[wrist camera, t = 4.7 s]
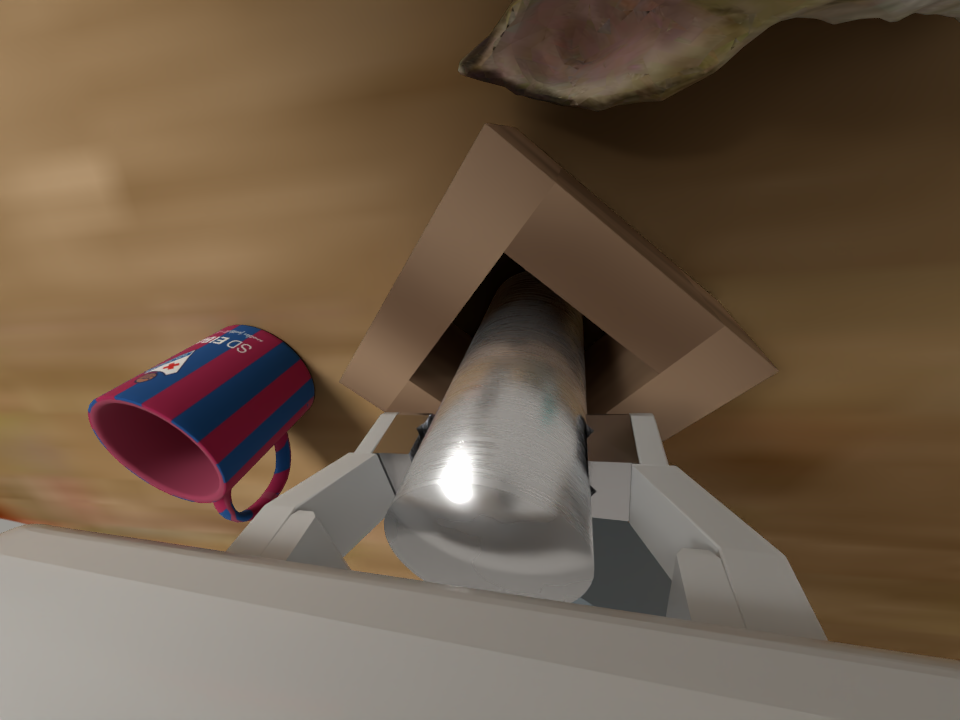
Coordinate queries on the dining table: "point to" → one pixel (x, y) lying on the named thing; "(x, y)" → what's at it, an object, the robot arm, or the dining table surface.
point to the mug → (208, 417)
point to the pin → (506, 459)
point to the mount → (570, 274)
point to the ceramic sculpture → (643, 43)
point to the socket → (625, 572)
